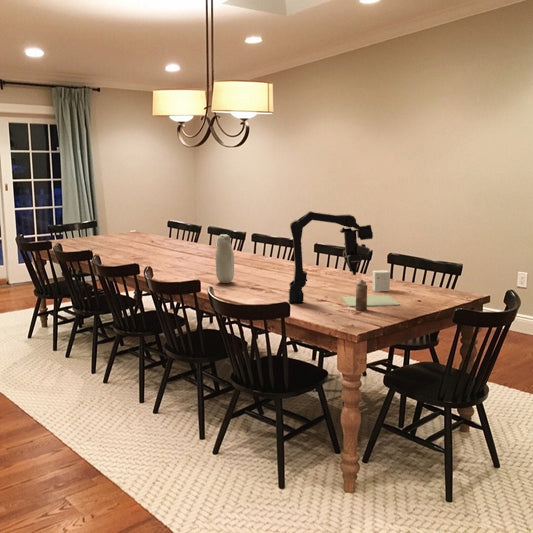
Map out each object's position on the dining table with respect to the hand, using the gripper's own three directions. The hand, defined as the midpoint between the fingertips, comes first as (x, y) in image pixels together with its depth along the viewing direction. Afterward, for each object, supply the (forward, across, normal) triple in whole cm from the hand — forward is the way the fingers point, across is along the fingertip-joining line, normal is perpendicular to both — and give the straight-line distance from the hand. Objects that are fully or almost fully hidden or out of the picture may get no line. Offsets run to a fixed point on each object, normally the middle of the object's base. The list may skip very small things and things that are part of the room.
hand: (353, 273), depth 265 cm
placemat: (+15, 0, -7) cm, 16 cm away
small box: (+16, +23, -17) cm, 33 cm away
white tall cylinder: (+8, +48, +66) cm, 83 cm away
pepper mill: (+14, -16, 0) cm, 21 cm away
